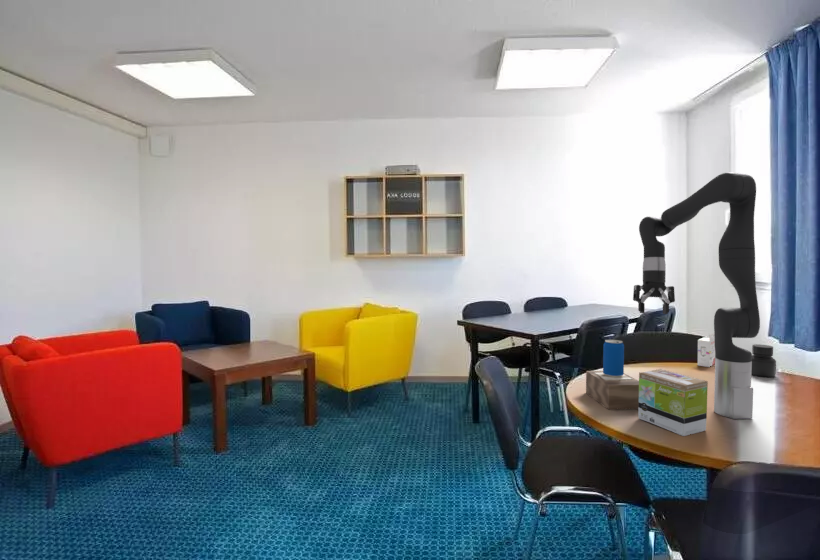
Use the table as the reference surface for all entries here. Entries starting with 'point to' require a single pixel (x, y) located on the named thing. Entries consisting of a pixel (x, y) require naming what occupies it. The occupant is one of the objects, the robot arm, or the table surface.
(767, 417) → the table surface
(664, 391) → the tea box
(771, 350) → the ink bottle
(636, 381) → the walnut box
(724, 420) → the table surface
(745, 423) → the table surface
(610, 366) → the beverage can
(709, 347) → the ink cartridge box
